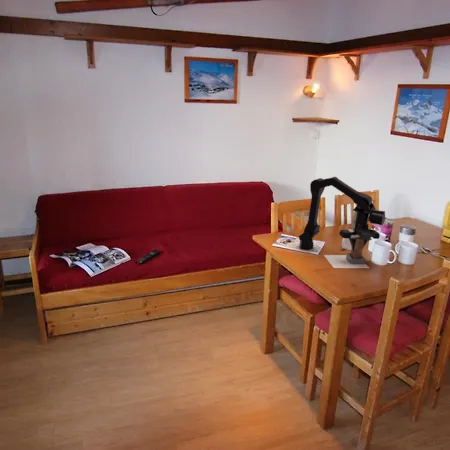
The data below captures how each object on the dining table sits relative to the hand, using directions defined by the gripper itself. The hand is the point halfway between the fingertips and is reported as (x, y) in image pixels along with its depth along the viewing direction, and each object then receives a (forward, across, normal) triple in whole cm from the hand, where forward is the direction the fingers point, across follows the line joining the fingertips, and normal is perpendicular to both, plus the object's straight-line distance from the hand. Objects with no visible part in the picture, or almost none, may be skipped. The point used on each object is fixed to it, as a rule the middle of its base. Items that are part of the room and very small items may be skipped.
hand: (356, 250), depth 205 cm
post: (+4, 0, 0) cm, 5 cm away
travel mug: (+8, +22, +50) cm, 55 cm away
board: (+7, -5, 0) cm, 9 cm away
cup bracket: (+7, 0, 0) cm, 7 cm away
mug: (+8, +3, +18) cm, 20 cm away
